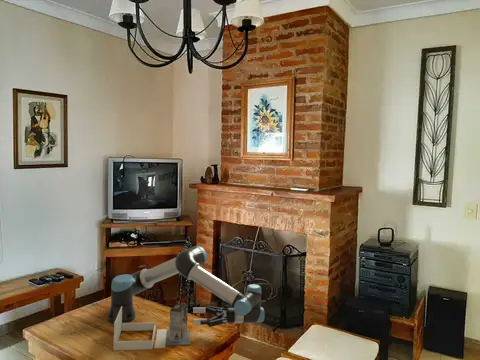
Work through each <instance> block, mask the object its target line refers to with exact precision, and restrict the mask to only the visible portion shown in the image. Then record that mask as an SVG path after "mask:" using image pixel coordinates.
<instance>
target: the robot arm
mask: <svg viewBox="0 0 480 360" xmlns="http://www.w3.org/2000/svg"><path fill="white" fill-rule="evenodd" d="M207 259H208V255H207V251H206V250H205V248H204V247H202V246H200V245H194V246H193V245H192V247H189V248H188V249H185V250H183V251H181V252H179V253H177V255H176V257H174V258H171V259H169V260H167V261H165V262H162V263H160V264H158V265H156V266H153V267H151V268H149V269H147V268H143V269H140V270H138V271H136V272H134V273H132V274H127V273H126V274H125V273H123V274H118V275H116V276H115V277H114V278H112V280H111V285H110V286H111V287H110V288H111V290H110V291H111V292H110V293H111V294H110V296H111V297H110V307H109V310H108V312H107V316H106V319H107V321H108V322H109V323H111V324H114V323H115V320H116V318H117V316H118V313H119V311H120V308H121V306H122V323H131V322H133V321H134V320H135V319H136V310H135V307H134V303H133V302H134V301H133V299H134V296H136V295H137V294H140V293H142V292H143V291H146V290H148V289H150V288H152V287H154V284H155V283H158V282H160V281H162V280H165V279H167V278H170V277H172V276H174V275H177V274H180V275H182V276H183V277H184V278H185V279H187V280H189V281H194V282H195V283H197V284H199V286H201V287H202V288H205V289H206V290H207V291H209V292H210V293H211V294H214V296H216V297H217V298H219V299H221V300H222V301H224V302H226V303H227V304H228V305H230V306H232V307H227V308H226V310H225V308H224V307H220V306H219V307H218V306H212V305H206V307H192V310H193V311H192V313H193V314H210V315H214V317H211V318H193V326H201V325H204V326H208V328H212V327H215V326H219V325H226V324H234V323H235V324H243V323H244V324H247V323H249V324H250V323H251V324H253V323H254V324H257V323H259V324H260V323H264V321H265V316H266V314H265V309H264V307H262V306H261V303H262V302H261V301H262V287H261V285H259V284H255V283H253V284H248V285H247V286H246V293H245V294H243V292H239V291H238V290H237V289H235V288H233V287H232V286H231V285H229V284H227V283H226V282H225V281H223V280H222V279H220V278H218V277H217V276H215V275H214V274H212V273H211V272H210V271H208V270H206V269H204V267H203V266H205V264H206V263H207Z"/></svg>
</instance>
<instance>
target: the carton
mask: <svg viewBox="0 0 480 360" xmlns="http://www.w3.org/2000/svg"><path fill="white" fill-rule="evenodd" d="M156 324H157V323H156V321H155V322H128V323H122V306H121V308H120V311H119V313H118V316H117V318H116V320H115V323H113V342H112V343H113V344H112V345H113V348H112V349H113V351H125V350H126V351H129V350H130V351H133V350H135V351H136V350H138V351H139V350H153V348H154V349H166V346H165V342H166V333H167V331H168V329H167V328H165V329H164V328H163V329H162V328H161V329H156V327H157V326H156ZM124 331H125V332H130V331H134V332H135V331H137V332H138V331H153V332H152V338H151V340H126V341H125V340H121V341H120V340H119V339H120V336H121V332H124ZM155 335H156V336H155ZM154 339H155V340H154ZM154 342H155V343H154ZM153 345H154V347H153Z"/></svg>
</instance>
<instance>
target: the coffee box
mask: <svg viewBox="0 0 480 360" xmlns="http://www.w3.org/2000/svg"><path fill="white" fill-rule="evenodd" d="M188 304H189V303H188ZM188 304H186V303H180V302H178V303H177V302H176V303H175V304H174V305H173V306H172V307H171V309H170V310H169V331H170V332H169V340H170V341H176V342H181V341H182V340H183V338H184V337H185V336H186V334H187V331H188V310H189V309H188V307H189V305H188Z"/></svg>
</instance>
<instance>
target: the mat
mask: <svg viewBox="0 0 480 360" xmlns="http://www.w3.org/2000/svg"><path fill="white" fill-rule="evenodd" d="M169 332H170V330H167V333H166V342H165V347H167V346H190V344H191V341H190V340H191V335H190V334H191V333H190V330H187V334H186V336H185V337H184V338H183V340H182V341H181V342H176V341H170V340H169Z"/></svg>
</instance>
